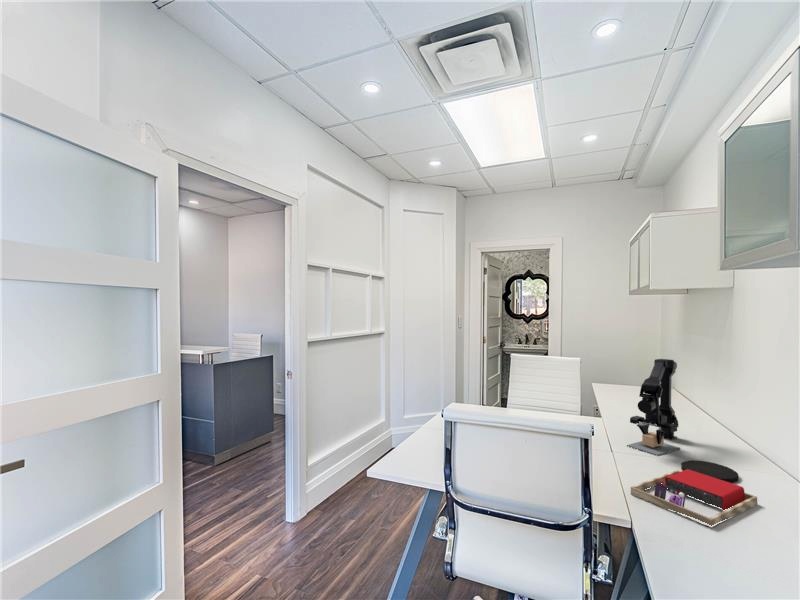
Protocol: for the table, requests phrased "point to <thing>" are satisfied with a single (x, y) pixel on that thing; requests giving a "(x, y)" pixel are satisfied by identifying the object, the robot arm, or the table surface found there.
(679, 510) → the organizer frame
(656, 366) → the robot arm
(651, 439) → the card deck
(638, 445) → the mat
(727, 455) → the table surface
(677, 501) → the game card
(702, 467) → the wireless charger
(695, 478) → the red device housing
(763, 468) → the table surface
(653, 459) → the table surface
